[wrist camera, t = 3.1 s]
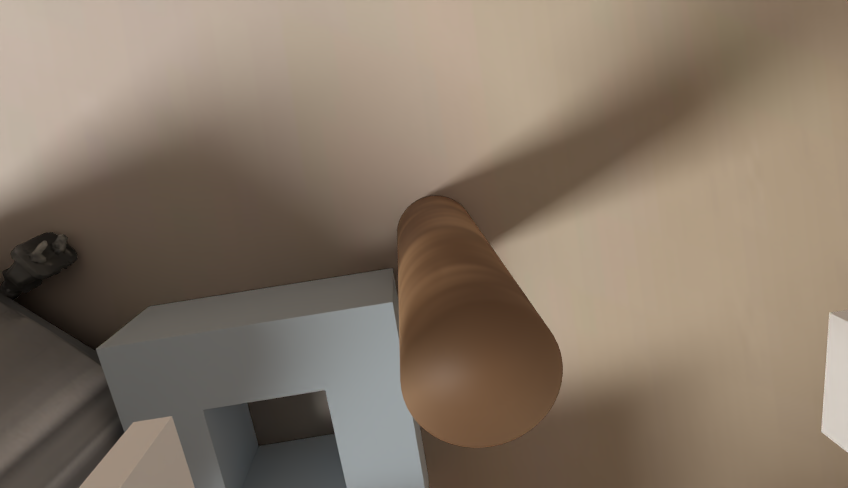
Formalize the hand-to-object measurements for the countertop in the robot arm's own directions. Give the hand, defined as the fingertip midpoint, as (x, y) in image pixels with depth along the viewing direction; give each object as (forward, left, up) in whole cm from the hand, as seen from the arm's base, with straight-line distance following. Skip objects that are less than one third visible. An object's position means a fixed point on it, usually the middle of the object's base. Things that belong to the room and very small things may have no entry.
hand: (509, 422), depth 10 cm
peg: (0, 0, -17) cm, 17 cm away
